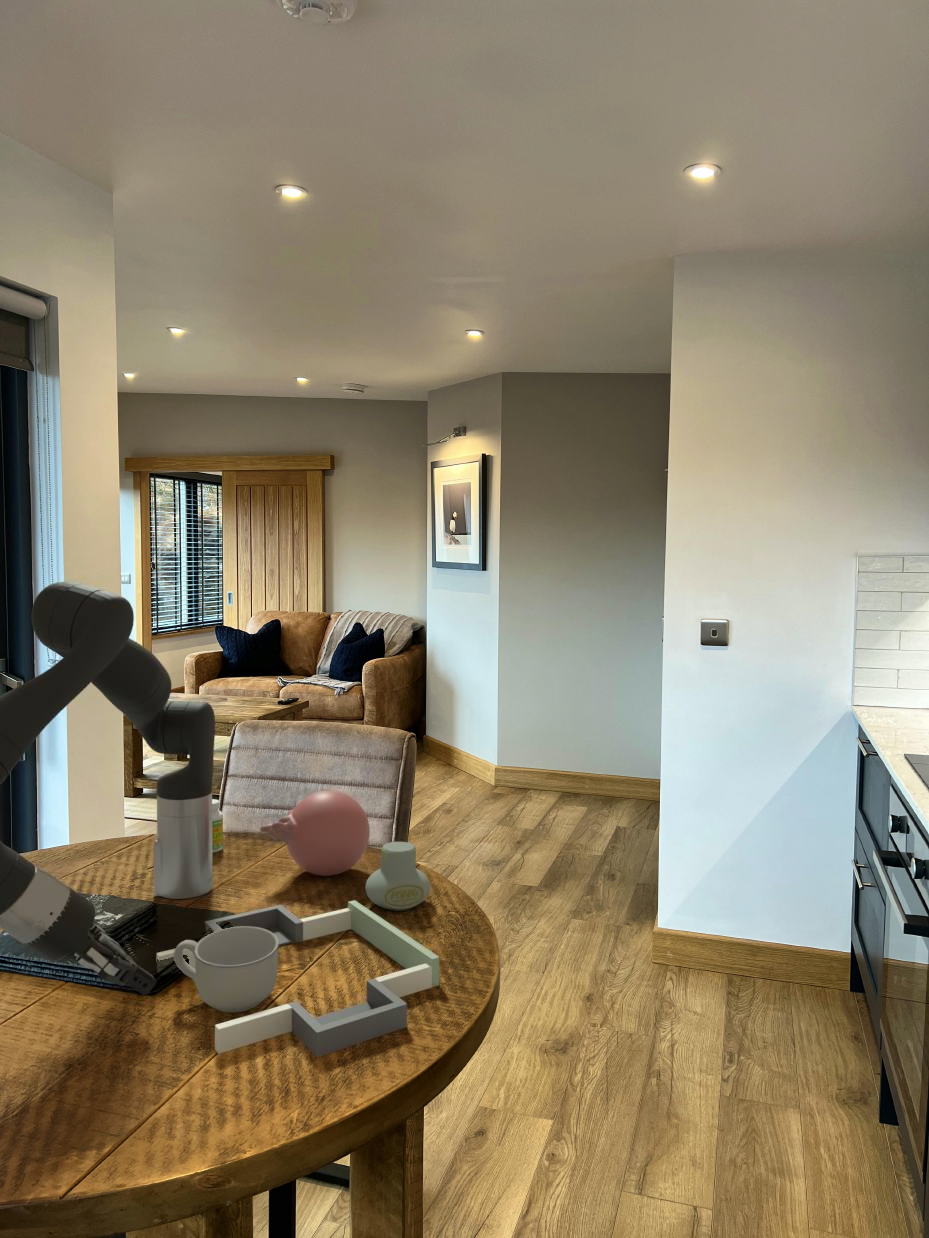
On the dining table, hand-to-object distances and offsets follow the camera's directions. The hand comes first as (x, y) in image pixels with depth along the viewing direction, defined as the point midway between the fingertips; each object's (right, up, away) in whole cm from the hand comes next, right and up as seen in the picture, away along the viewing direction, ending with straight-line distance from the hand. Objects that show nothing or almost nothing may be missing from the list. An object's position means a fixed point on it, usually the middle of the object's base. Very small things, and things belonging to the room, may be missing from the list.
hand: (149, 986), depth 113 cm
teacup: (+8, -4, +6) cm, 11 cm away
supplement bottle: (-11, 0, +66) cm, 67 cm away
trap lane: (+16, -4, +11) cm, 20 cm away
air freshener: (+28, -3, +40) cm, 49 cm away
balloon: (+12, -1, +53) cm, 55 cm away
